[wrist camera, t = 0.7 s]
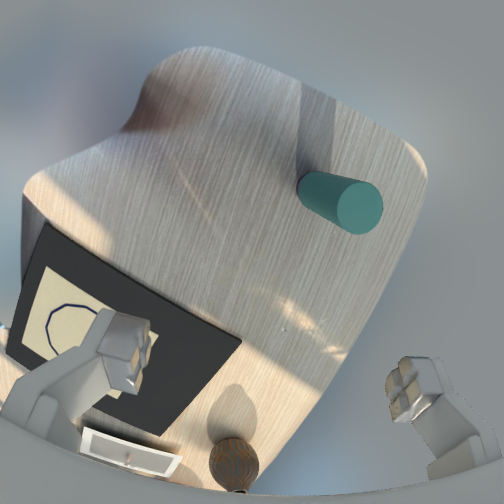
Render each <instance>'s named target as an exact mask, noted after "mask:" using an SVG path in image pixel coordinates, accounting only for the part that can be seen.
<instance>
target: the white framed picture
mask: <svg viewBox="0 0 504 504" xmlns="http://www.w3.org/2000/svg"><path fill="white" fill-rule="evenodd" d="M80 452H83V453H85V454H88V455H91V456H93V457H96V458H99V459H102V460H105V461H108V462H111V463H114V464H118V465H121V466H124V467H128V468H131V469H135V470H139V471H142V472H146V473H150V474H154V475H159V476H163V477H167V478H170V476H171V475H172V473H173V472H174V470H175V469H176V467H177V466H178V464H179V463H180V461H181V460H182V458H183V457H184V456H180V455H176V454H171V453H167V452H163V451H159V450H155V449H152V448H148V447H144V446H141V445H137V444H134V443H131V442H128V441H124V440H121V439H118V438H115V437H112V436H109V435H106V434H103V433H101V432H98V431H95V430H93V429H90V428H87V427H85V426H84V429H83V435H82V442H81V448H80Z"/></svg>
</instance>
